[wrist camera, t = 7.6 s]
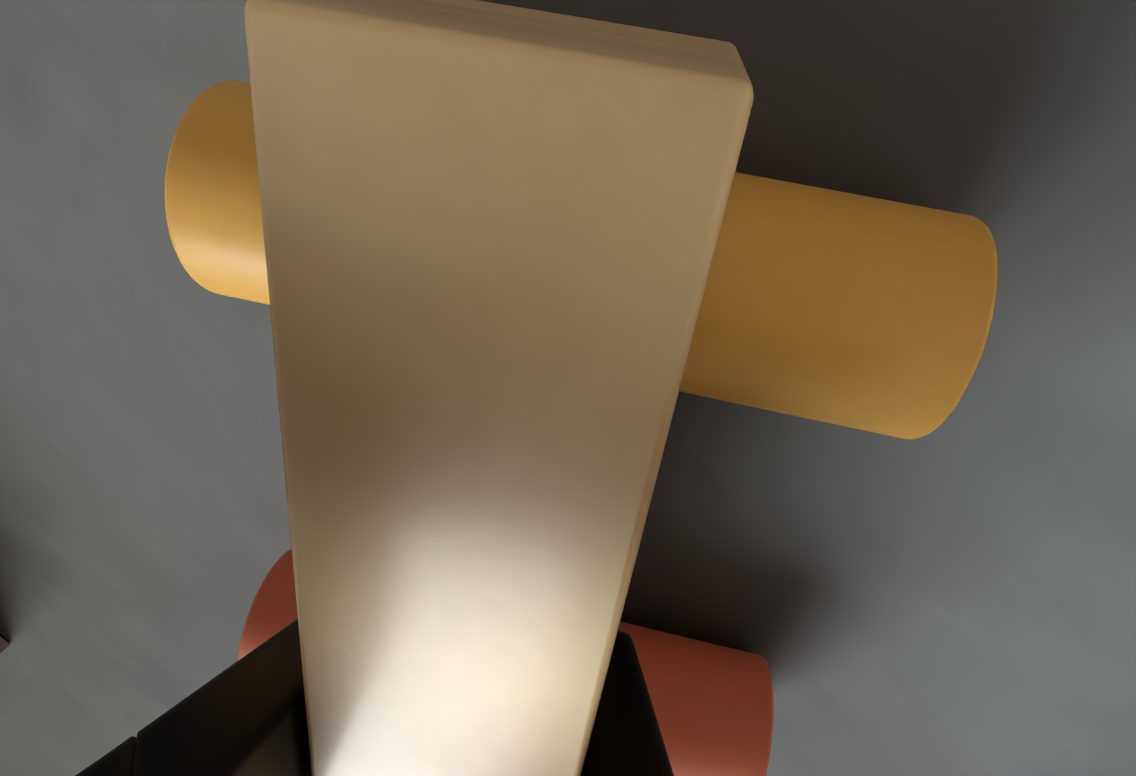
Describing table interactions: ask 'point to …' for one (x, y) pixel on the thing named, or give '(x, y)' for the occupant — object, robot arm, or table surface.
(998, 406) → the table surface
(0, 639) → the dice cube
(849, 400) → the ochre rod
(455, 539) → the light wooden bar
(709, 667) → the terracotta rod
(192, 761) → the robot arm
